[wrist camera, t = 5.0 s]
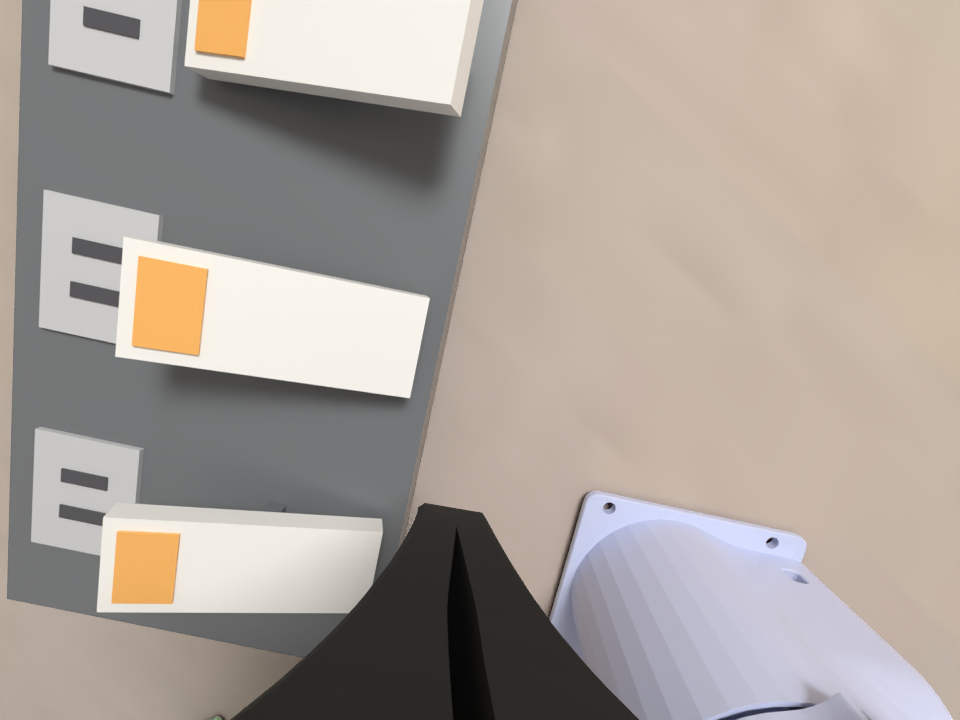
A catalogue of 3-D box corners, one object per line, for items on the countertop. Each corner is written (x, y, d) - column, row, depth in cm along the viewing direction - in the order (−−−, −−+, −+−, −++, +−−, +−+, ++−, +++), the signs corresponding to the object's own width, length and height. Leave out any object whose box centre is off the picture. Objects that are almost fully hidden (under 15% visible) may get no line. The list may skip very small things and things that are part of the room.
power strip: (524, -34, 16) (536, -130, 12) (388, 614, 21) (366, 692, 17) (115, -135, 15) (-7, -268, 12) (75, 551, 20) (-19, 616, 17)
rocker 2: (382, 519, 16) (383, 533, 16) (366, 596, 17) (366, 615, 16) (117, 502, 14) (100, 519, 13) (110, 593, 15) (94, 614, 14)
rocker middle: (426, 295, 15) (430, 298, 14) (408, 390, 15) (410, 399, 15) (138, 236, 13) (121, 236, 12) (129, 350, 13) (113, 357, 12)
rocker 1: (488, -23, 11) (478, -49, 10) (460, 117, 12) (449, 102, 11) (220, -43, 13) (192, -68, 12) (208, 78, 14) (181, 64, 13)
